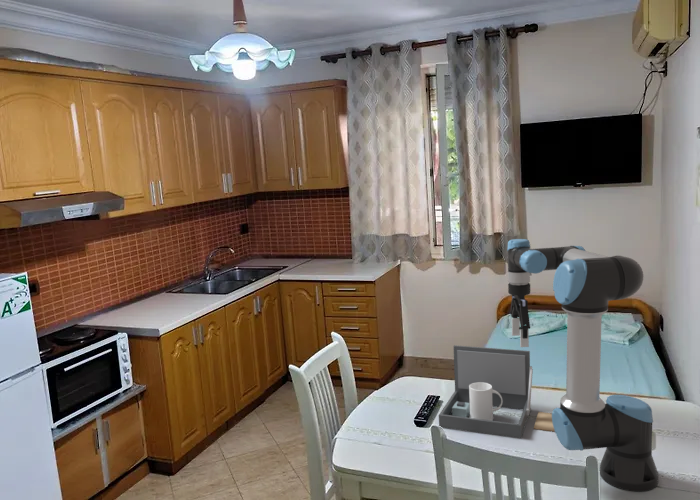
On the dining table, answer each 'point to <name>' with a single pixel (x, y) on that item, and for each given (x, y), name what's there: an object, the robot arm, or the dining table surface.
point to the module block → (461, 409)
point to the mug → (482, 401)
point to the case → (503, 375)
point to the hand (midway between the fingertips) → (520, 340)
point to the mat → (544, 422)
